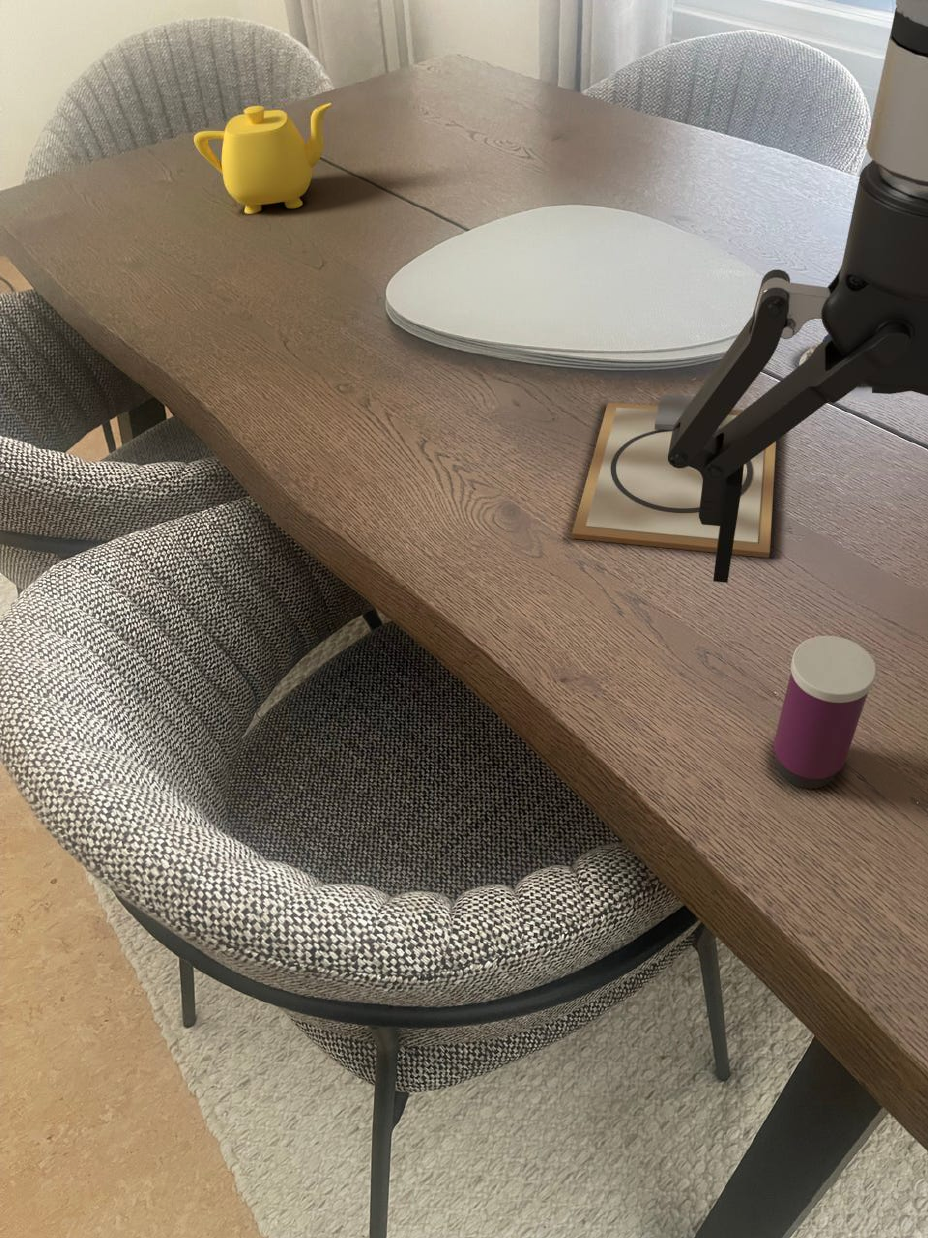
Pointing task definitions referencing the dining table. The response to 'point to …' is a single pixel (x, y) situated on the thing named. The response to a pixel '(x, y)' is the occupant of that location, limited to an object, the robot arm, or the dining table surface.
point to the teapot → (265, 157)
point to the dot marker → (821, 709)
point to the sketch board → (664, 487)
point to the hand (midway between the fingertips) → (852, 579)
